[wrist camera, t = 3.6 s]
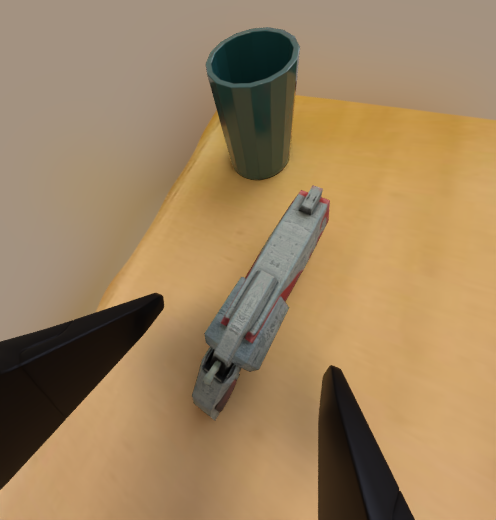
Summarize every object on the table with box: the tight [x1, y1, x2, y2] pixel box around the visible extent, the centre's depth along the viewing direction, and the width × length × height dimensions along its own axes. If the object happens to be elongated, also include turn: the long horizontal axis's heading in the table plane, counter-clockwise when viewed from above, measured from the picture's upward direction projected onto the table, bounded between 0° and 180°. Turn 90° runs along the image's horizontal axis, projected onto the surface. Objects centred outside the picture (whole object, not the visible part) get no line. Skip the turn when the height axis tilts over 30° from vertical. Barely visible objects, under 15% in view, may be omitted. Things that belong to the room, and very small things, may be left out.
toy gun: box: [192, 186, 330, 421], centre depth 15 cm, size 4×20×10 cm, turn 150°
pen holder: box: [206, 27, 300, 180], centre depth 20 cm, size 8×8×10 cm
